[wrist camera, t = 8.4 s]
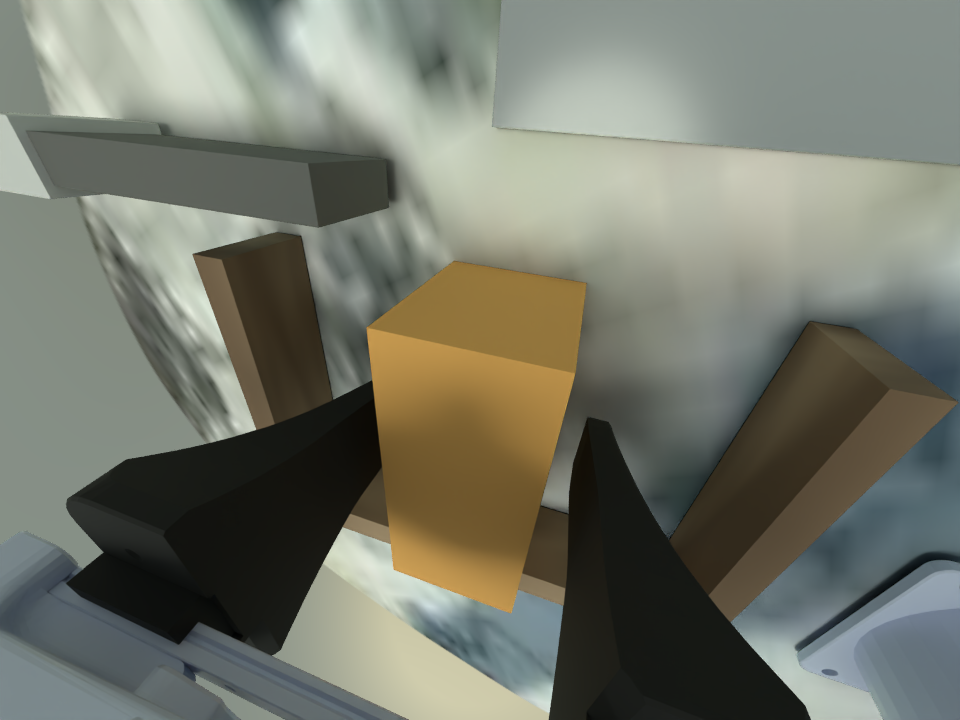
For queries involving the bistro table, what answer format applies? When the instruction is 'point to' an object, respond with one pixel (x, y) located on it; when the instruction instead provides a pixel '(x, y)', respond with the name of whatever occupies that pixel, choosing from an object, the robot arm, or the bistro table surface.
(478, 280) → the tall tan rectangular prism
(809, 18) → the slate tile
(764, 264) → the bistro table surface
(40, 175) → the gray rectangular bar
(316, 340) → the walnut cradle
